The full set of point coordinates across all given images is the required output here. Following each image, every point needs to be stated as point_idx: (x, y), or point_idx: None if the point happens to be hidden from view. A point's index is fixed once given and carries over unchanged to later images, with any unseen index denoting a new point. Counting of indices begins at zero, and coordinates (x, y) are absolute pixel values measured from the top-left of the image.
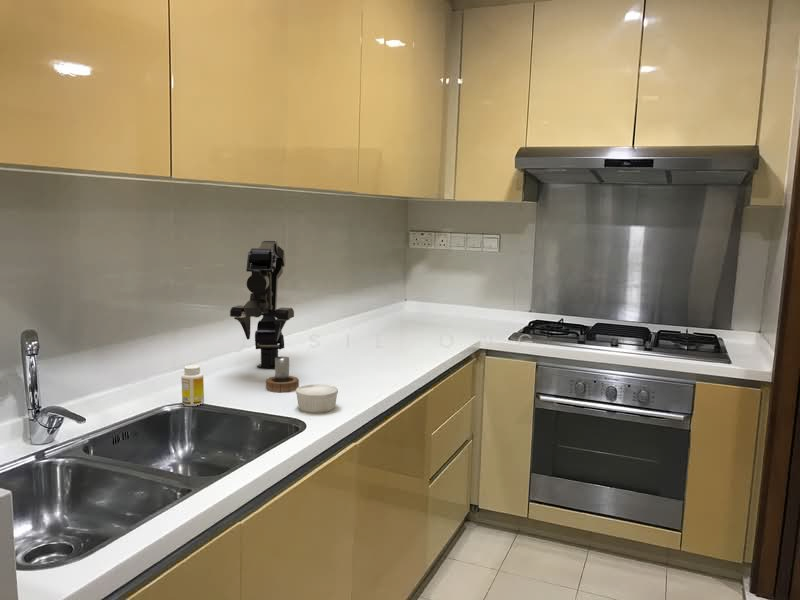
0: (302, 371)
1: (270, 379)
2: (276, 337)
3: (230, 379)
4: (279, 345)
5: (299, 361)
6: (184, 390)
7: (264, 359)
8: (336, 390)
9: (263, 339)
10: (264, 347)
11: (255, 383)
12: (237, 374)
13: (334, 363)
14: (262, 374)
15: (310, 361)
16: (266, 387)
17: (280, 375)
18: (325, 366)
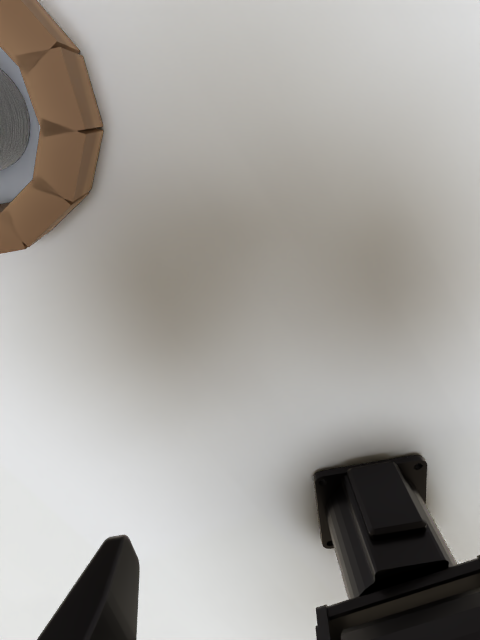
0: (150, 492)
1: (28, 71)
2: (80, 588)
3: (470, 164)
4: (328, 631)
5: (277, 604)
6: None
7: (390, 498)
8: None
9: (456, 637)
10: (432, 585)
11: (241, 145)
12: (473, 297)
13: None
14: (322, 360)
15: (230, 620)
16: (53, 23)
17: None
18: None
